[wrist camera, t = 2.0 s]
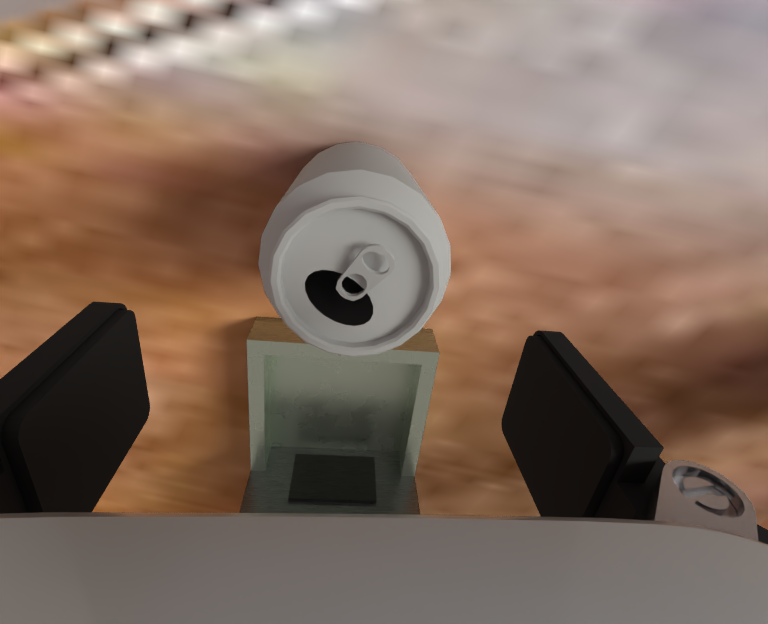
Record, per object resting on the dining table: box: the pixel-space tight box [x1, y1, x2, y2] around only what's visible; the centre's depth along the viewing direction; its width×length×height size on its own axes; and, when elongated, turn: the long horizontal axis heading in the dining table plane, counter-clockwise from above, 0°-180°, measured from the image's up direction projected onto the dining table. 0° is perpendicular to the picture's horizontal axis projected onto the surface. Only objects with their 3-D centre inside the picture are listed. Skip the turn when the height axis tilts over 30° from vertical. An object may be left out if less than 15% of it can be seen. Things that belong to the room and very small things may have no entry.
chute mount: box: [239, 317, 440, 515], centre depth 31 cm, size 12×19×7 cm, turn 173°
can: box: [258, 142, 451, 357], centre depth 21 cm, size 8×8×12 cm
